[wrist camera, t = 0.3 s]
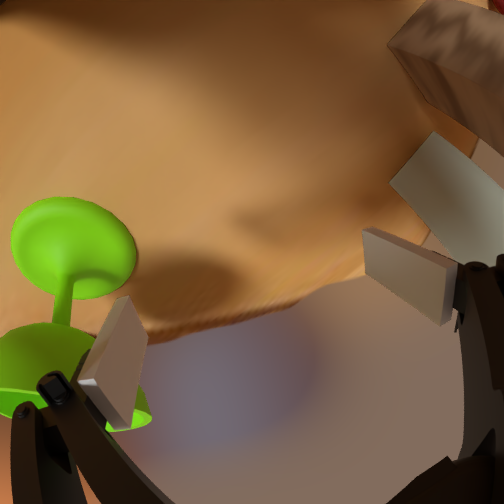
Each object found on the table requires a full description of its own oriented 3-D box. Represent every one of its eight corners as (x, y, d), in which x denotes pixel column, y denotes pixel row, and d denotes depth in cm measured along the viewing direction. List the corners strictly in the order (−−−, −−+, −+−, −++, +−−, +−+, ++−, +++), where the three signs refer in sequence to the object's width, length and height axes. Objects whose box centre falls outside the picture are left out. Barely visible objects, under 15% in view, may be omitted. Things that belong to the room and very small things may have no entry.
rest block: (407, 201, 37) (484, 302, 25) (388, 183, 33) (480, 298, 21) (447, 155, 32) (535, 248, 20) (433, 130, 28) (540, 232, 16)
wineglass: (149, 208, 26) (169, 397, 15) (127, 301, 36) (142, 433, 24) (3, 188, 18) (-60, 367, 7) (20, 288, 27) (8, 421, 16)
